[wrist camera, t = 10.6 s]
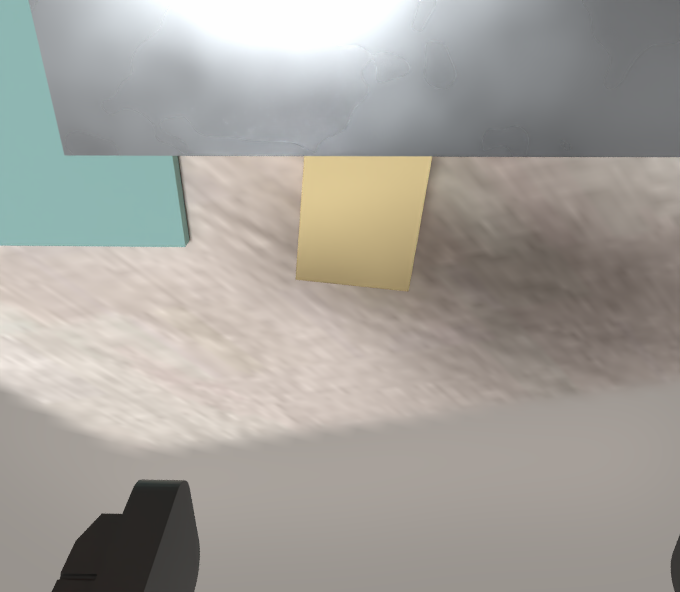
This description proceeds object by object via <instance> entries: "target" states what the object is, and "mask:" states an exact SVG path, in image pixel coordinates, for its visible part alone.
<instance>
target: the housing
mask: <svg viewBox="0 0 680 592" xmlns="http://www.w3.org/2000/svg"><path fill="white" fill-rule="evenodd" d="M28 1H29V5H30V9H31V13H32V18H33V22H34V26H35V31H36V35H37V39H38V44H39V48H40V52H41V57H42V61H43V65H44V70H45V74H46V78H47V83H48V87H49V91H50V95H51V100H52V104H53V108H54V113H55V117H56V121H57V126H58V130H59V134H60V139H61V143H62V147H63V152H64V156H448V157H680V0H28Z"/></svg>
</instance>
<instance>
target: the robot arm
mask: <svg viewBox="0 0 680 592" xmlns="http://www.w3.org/2000/svg"><path fill="white" fill-rule="evenodd" d="M199 547H200V546H199V538H198V533H197V527H196V522H195V516H194V510H193V504H192V499H191V494H190V488H189V485H188V482H187V481H184V480H139V481H138V482H137V483H136V484H135V486H134V488H133V490H132V492H131V495H130V497H129V500H128V502H127V504H126V507H125V509H124V511H123V514H101V515H100V516H99V517H98V518H97V519H96V520H95V521H94V523H93V524H92V525H91V526H90V527H89V528H88V529H87V530H86V531H85V532H84V533H83V534H82V535H81V536H80V537H79V538H78V539H77V540H76V542H75V544H74V546H73V548H72V550H71V552H70V554H69V556H68V558H67V561H66V563H65V565H64V567H63V569H62V571H61V577H60V579H59V580H57V582H56V584H55V586H54V588H53V590H52V592H194V590H195V586H196V582H197V577H198V570H199V560H200V548H199ZM671 577H672V583H673V587H674V590H675V592H680V536H679V538H678V541H677V544H676V546H675V549H674V551H673V555H672V559H671Z"/></svg>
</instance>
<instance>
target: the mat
mask: <svg viewBox="0 0 680 592" xmlns="http://www.w3.org/2000/svg"><path fill="white" fill-rule="evenodd" d="M188 242H189V234H188V227H187V220H186V213H185V206H184V199H183V191H182V184H181V177H180V170H179V163H178V156H64V152H63V147H62V143H61V139H60V134H59V130H58V126H57V121H56V117H55V113H54V108H53V104H52V100H51V95H50V91H49V87H48V83H47V78H46V74H45V70H44V65H43V61H42V57H41V52H40V48H39V44H38V39H37V35H36V31H35V26H34V22H33V18H32V13H31V9H30V5H29V1H28V0H0V245H8V246H131V247H186V245H187V243H188Z"/></svg>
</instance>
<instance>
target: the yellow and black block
mask: <svg viewBox="0 0 680 592" xmlns="http://www.w3.org/2000/svg"><path fill="white" fill-rule="evenodd" d="M431 160H432V156H304V168H303V182H302V196H301V210H300V224H299V238H298V252H297V266H296V280H305V281H314V282H324V283H333V284H342V285H352V286H361V287H371V288H380V289H390V290H399V291H409V286H410V280H411V274H412V269H413V263H414V257H415V251H416V246H417V240H418V234H419V229H420V223H421V217H422V212H423V206H424V200H425V195H426V189H427V183H428V177H429V172H430V166H431Z"/></svg>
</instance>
